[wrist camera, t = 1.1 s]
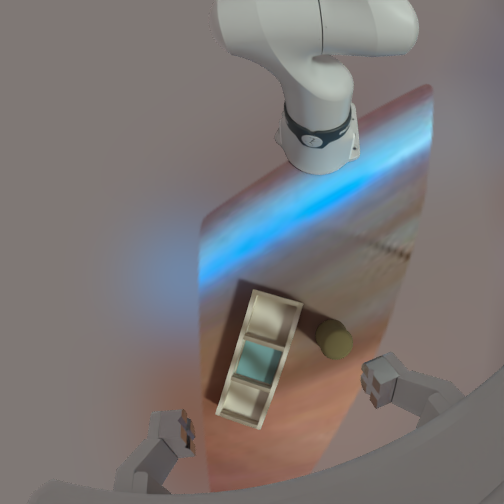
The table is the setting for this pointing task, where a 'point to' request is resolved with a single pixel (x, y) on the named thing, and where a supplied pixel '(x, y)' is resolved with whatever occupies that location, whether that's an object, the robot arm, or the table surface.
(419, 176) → the table surface
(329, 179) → the table surface
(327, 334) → the cork
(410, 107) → the table surface
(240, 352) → the divided tray
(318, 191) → the table surface
